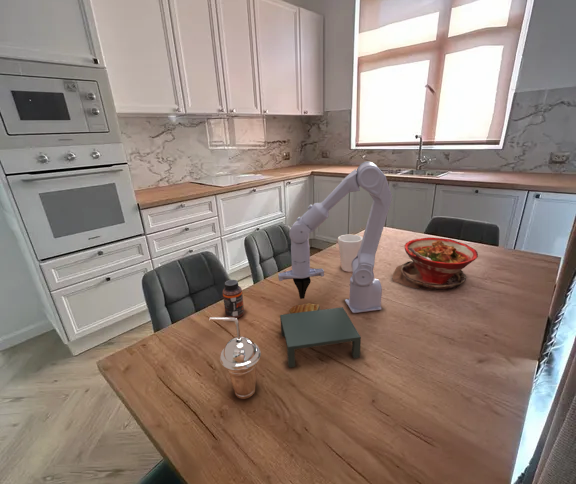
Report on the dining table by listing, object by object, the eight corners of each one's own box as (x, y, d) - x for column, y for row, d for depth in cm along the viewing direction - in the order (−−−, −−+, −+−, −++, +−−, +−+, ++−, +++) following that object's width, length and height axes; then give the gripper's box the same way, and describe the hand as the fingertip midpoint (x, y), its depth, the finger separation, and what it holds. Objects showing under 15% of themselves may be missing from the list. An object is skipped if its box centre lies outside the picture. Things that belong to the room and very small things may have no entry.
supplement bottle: (240, 320, 95) (236, 287, 91) (222, 318, 97) (217, 286, 92) (247, 309, 101) (243, 278, 96) (229, 308, 102) (225, 277, 98)
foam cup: (364, 266, 128) (366, 236, 123) (356, 275, 120) (357, 243, 115) (342, 262, 132) (343, 233, 127) (333, 270, 125) (334, 240, 120)
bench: (342, 325, 91) (342, 306, 88) (359, 357, 78) (361, 336, 75) (281, 333, 88) (280, 314, 86) (288, 367, 76) (287, 347, 73)
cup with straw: (255, 410, 65) (246, 330, 57) (216, 401, 67) (202, 323, 59) (269, 380, 72) (263, 305, 64) (234, 373, 75) (223, 300, 67)
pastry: (287, 320, 94) (287, 309, 93) (292, 308, 100) (291, 298, 99) (318, 322, 92) (318, 311, 91) (321, 310, 98) (321, 300, 97)
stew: (423, 303, 100) (429, 256, 94) (379, 273, 121) (382, 234, 115) (489, 286, 108) (499, 242, 102) (437, 261, 129) (442, 224, 123)
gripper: (320, 252, 102) (320, 289, 107) (276, 256, 100) (278, 293, 105) (325, 260, 95) (325, 299, 100) (278, 265, 93) (281, 304, 99)
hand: (301, 297), depth 102 cm, fingers closed
